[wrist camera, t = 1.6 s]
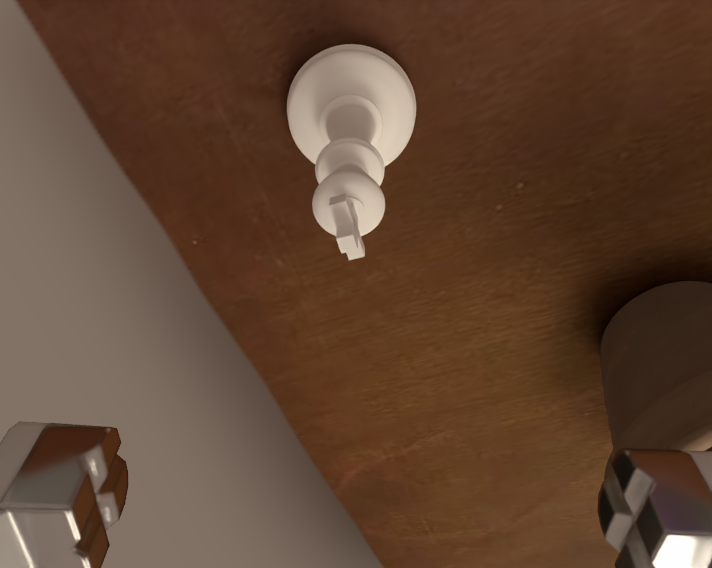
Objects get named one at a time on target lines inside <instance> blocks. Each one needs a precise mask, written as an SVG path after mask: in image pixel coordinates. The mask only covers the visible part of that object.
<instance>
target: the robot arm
mask: <svg viewBox="0 0 712 568" xmlns="http://www.w3.org/2000/svg"><path fill="white" fill-rule="evenodd" d="M120 444H121V440H120V437H119V434H118V430H117V428H113V427H101V426H87V425H72V424H57V423H35V422H20V421H19V422H18V423H17V424H15V425H14V426H13V427H11V428H10V429H9V430H8V432H7V434H6V435H5V437H4V438H3V440H2V441H1V443H0V568H101V566H102V563H103V561H104V558H105V555H106V553H107V550H108V548H109V541H108V538H107V534H106V530H107V529H109V528H110V527H111V526H112V525H113V524H115V523H116V522H117V521H118V520H119V518H120V516H121V513H122V510H123V508H124V505H125V500H126V494H127V489H128V470H127V466H126V461H124V460H123V459H122V458H121V457H120V456H118V455H117V451H118V449H119V447H120ZM611 465H612V468H613V470H614V472H615V474H614V475H612V476H611V477H609V478H608V479H606V480H605V481H603V484H602V486H601V489H600V492H599V495H598V515H599V520H600V525H601V528H602V531H603V534H604V537H605V539H606V540H607V541H608V542H609V543H610V544H611V545H612V546H613V547H614V548H615V549H616V550H617V551H619V555H618V557H617V560H616V562H615V567H616V568H712V451H688V450H683V451H680V450H669V449H636V448H621V449H620V450H618V451H617V452H616V453H615V455H614V457H613V460H612V462H611Z"/></svg>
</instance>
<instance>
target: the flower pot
mask: <svg viewBox="0 0 712 568" xmlns="http://www.w3.org/2000/svg"><path fill="white" fill-rule="evenodd" d="M600 354H601V367H602V377H603V386H604V395H605V403H606V408H607V414H608V420H609V425H610V431H611V437H612V443H613V451H612V453H611V455H610V457H609V459H608V462H607V466H606V469H605V475H604V481H605V480H606V479H608V478H609V477H611V476H612V475H614V474H615V472H614V470H613V468H612V465H611V462H612V460H613V457H614V455H615V453H616V452H617V451H618V450H620V449H621V448H636V449H669V450H680V451H683V450H688V451H712V284H711V283H706V282H701V281H680V282H673V283H669V284H664V285H661V286H658V287H655V288H653V289H650V290H648V291H646V292H644V293H642V294H640V295H639V296H637V297H635V298H634V299H632V300H631V301H629V302H628V303H627V304H625V305H624V306H623V307H622V308H621V309H620V310H619V311H618V312H617V313H616V314H615V315H614V317H613V318H612V319H611V321H610V322H609V324H608V325H607V327H606V329H605V331H604V334H603V337H602V340H601V348H600Z"/></svg>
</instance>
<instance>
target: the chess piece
mask: <svg viewBox="0 0 712 568" xmlns="http://www.w3.org/2000/svg"><path fill="white" fill-rule="evenodd" d="M287 117H288V123H289V128H290V132H291V134H292V137H293V139H294V141H295V143H296V145H297V146H298V148H299V149H300V151H301V152H302V153H303V154H304V155H305V156H306V157H307V158H308V159H309V160H310V161H311V162H312V163H314V164H315V174H316V178H317V181H318V183H319V185H318V187H317V189H316V191H315V193H314V196H313V201H312V208H313V213H314V216H315V218H316V220H317V222H318V223H319V224H320V226H321V227H322V228H323V229H324V230H326V231H327V232H329V233H331V234H332V235H335V236H336V240H337V243H338V246H339V248H340V251H341V253H345V252H346V253H347V256H348V259H349V260H353V259H357V258H360V257H364V256H365V247H364V244H363V241H362V238H361V236H363V235H365V234H367V233H369V232H371V231H372V230H373V229H374V228H375V227H376V226H377V225H378V224H379V223H380V221H381V219H382V217H383V215H384V211H385V199H384V195H383V192H382V190H381V188H380V185H381V183H382V181H383V178H384V171H385V170H384V167H385V166H387V165H388V164H390V163H391V162H392V161H393V160H395V159H396V158H397V157H398V156H399V155H400V153H401V152H402V151H403V150H404V148H405V147H406V145H407V143H408V141H409V139H410V137H411V134H412V131H413V128H414V123H415V118H416V99H415V94H414V90H413V87H412V84H411V82H410V80H409V78H408V76H407V75H406V73H405V72H404V70H403V69H402V68H401V67H400V65H399V64H398V63H397V62H396V61H394V60H393V59H392V58H391V57H389V56H388V55H386V54H385V53H383V52H381V51H379V50H377V49H375V48H372V47H368V46H364V45H357V44H345V45H338V46H334V47H331V48H328V49H325V50H323V51H321V52H319V53H318V54H316V55H315V56H313V57H312V58H310V59H309V60H308V61H307V62H306V63H305V64H304V65H303V66H302V67H301V69H300V70H299V71H298V73H297V74H296V76H295V78H294V79H293V82H292V84H291V87H290V90H289V93H288V99H287Z"/></svg>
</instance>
